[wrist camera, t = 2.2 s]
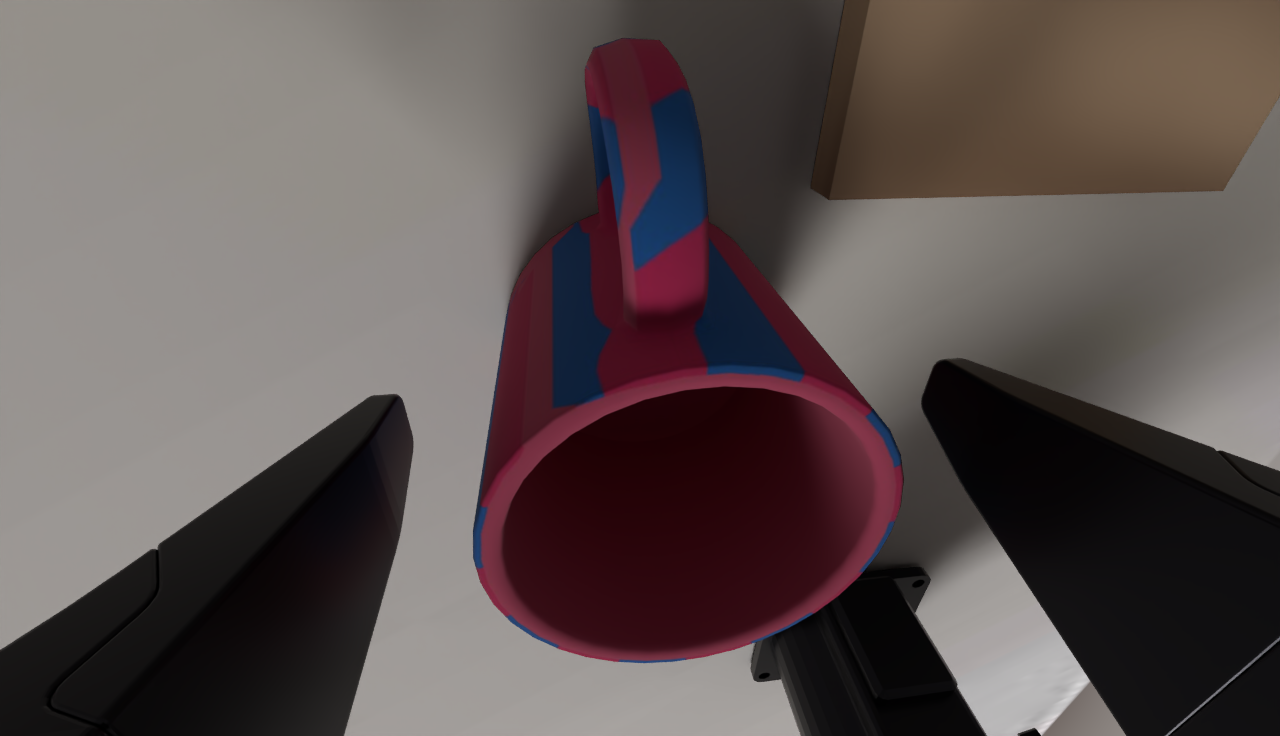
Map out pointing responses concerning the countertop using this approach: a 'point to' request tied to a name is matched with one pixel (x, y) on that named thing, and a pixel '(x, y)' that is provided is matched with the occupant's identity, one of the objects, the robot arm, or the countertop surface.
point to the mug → (667, 415)
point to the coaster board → (1044, 96)
